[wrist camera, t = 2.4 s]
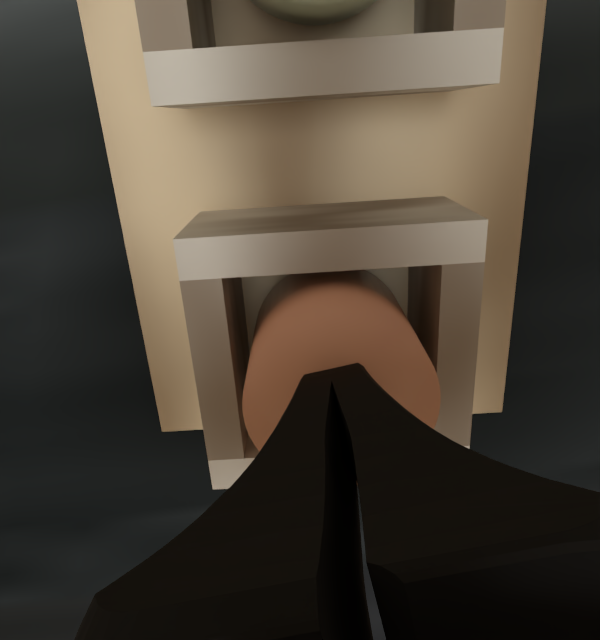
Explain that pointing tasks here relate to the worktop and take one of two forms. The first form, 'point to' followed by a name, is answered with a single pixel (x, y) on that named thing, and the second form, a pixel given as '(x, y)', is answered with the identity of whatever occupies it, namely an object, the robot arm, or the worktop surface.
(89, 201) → the worktop surface
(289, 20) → the sage key
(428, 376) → the terracotta key
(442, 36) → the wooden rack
